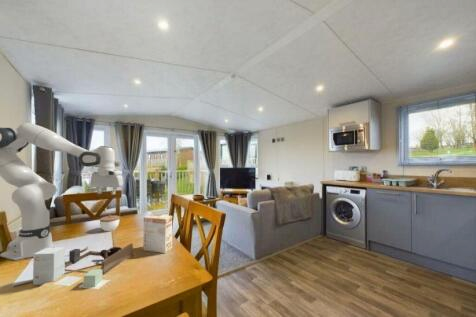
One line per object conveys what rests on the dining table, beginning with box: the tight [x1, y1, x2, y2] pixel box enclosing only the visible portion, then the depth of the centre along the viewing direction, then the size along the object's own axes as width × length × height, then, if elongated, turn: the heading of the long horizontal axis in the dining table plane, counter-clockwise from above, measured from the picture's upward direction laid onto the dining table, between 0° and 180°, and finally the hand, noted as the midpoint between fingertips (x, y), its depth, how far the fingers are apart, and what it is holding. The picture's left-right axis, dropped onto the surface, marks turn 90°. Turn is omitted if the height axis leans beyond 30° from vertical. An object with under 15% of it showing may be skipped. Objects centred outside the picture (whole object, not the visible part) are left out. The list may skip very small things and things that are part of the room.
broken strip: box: [52, 275, 110, 290], centre depth 83 cm, size 21×6×1 cm, turn 82°
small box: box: [32, 246, 66, 286], centre depth 86 cm, size 8×6×13 cm
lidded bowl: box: [99, 214, 121, 232], centre depth 149 cm, size 13×13×11 cm
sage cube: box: [83, 268, 103, 287], centre depth 82 cm, size 4×4×4 cm
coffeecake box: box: [142, 213, 173, 254], centre depth 117 cm, size 15×7×20 cm, turn 74°
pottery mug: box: [99, 246, 122, 260], centre depth 102 cm, size 12×10×8 cm
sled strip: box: [65, 243, 134, 276], centre depth 100 cm, size 27×19×7 cm
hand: (106, 194), depth 124 cm, fingers open, 8 cm apart
